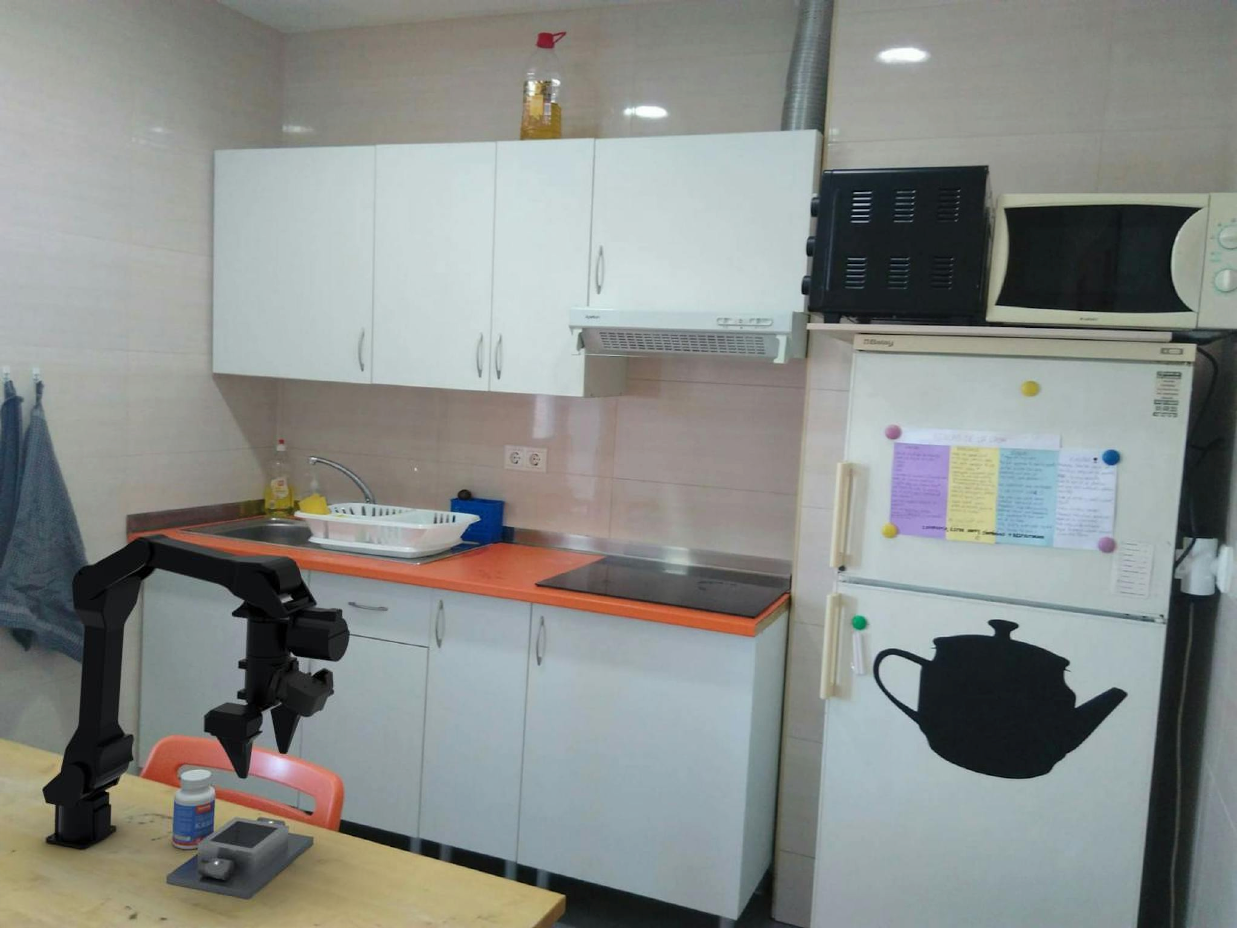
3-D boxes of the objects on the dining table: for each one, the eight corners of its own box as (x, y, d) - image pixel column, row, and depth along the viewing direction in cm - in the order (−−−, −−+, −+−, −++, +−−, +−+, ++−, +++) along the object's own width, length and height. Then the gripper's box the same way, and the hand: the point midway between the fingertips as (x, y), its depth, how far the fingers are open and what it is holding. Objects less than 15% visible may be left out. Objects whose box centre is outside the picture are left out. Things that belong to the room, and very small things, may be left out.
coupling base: (166, 882, 126) (167, 853, 126) (239, 830, 142) (240, 803, 142) (248, 898, 124) (249, 868, 124) (313, 843, 139) (314, 816, 139)
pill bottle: (198, 852, 135) (200, 784, 134) (163, 846, 136) (165, 779, 135) (221, 835, 140) (224, 770, 139) (188, 830, 141) (190, 765, 140)
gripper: (282, 679, 118) (276, 802, 119) (358, 642, 136) (352, 750, 137) (202, 667, 121) (198, 788, 122) (287, 633, 139) (282, 738, 140)
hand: (263, 765), depth 130 cm, fingers open, 9 cm apart
